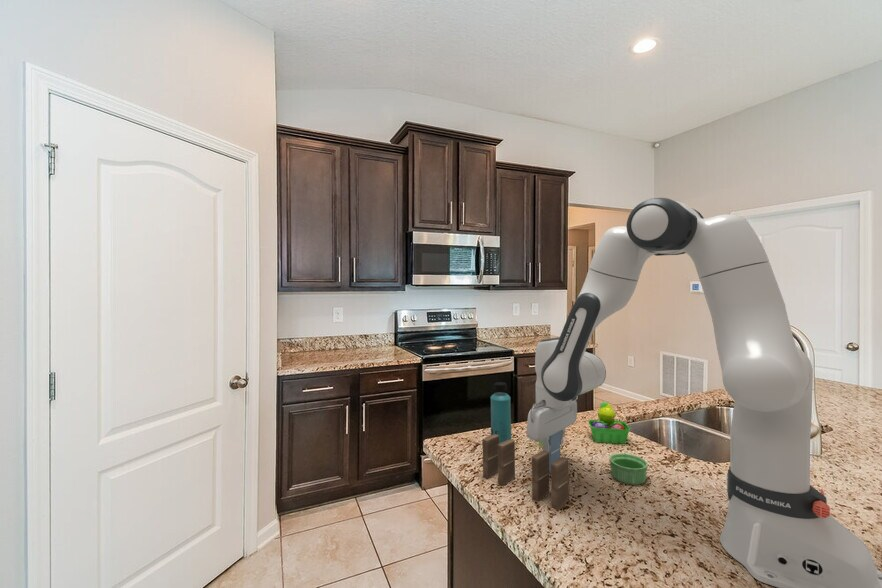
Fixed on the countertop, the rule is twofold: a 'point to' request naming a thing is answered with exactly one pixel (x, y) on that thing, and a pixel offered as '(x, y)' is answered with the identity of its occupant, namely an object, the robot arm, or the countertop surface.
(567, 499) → the domino
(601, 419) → the fruit basket
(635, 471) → the ramekin
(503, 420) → the beverage bottle
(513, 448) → the domino
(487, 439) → the domino
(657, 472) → the countertop surface
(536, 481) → the domino
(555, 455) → the domino
